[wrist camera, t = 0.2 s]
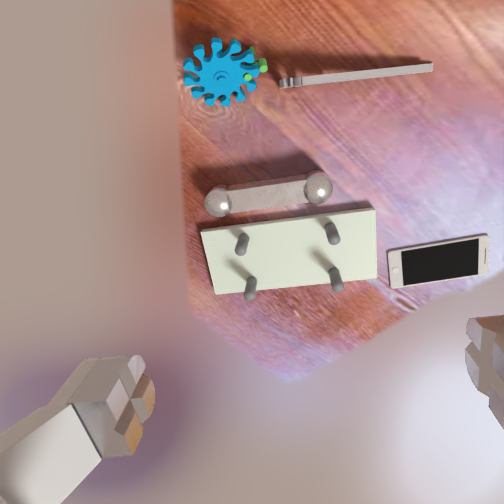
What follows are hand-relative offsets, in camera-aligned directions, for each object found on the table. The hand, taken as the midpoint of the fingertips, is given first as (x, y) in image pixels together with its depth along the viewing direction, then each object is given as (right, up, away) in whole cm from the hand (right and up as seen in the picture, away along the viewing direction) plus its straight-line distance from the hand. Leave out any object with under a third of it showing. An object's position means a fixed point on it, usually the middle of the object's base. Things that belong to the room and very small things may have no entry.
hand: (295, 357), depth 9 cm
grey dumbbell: (+2, +12, +46) cm, 48 cm away
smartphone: (+30, +1, +49) cm, 57 cm away
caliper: (+13, +27, +39) cm, 49 cm away
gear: (-4, +28, +40) cm, 49 cm away
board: (+5, +3, +50) cm, 51 cm away
